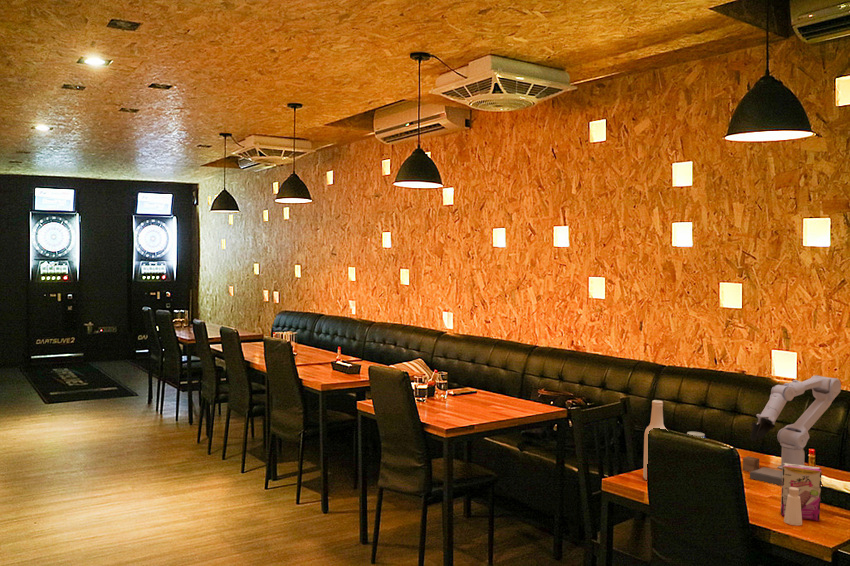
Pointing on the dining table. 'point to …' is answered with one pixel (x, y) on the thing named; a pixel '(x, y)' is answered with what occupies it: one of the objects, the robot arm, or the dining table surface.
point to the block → (750, 464)
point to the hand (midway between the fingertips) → (755, 438)
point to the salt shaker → (793, 508)
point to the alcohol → (654, 423)
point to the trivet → (767, 475)
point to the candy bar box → (802, 488)
